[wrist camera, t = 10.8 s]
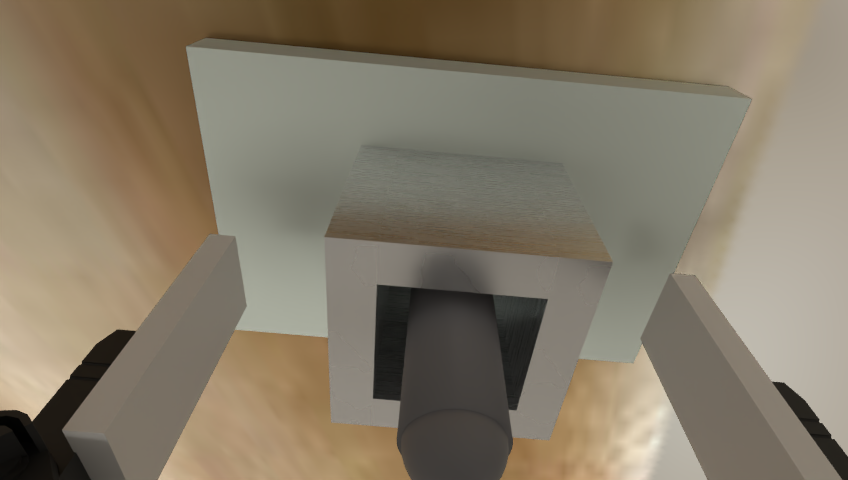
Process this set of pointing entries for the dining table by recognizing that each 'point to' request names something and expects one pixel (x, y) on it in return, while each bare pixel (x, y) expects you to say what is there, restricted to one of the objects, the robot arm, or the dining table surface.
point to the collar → (459, 274)
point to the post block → (462, 134)
